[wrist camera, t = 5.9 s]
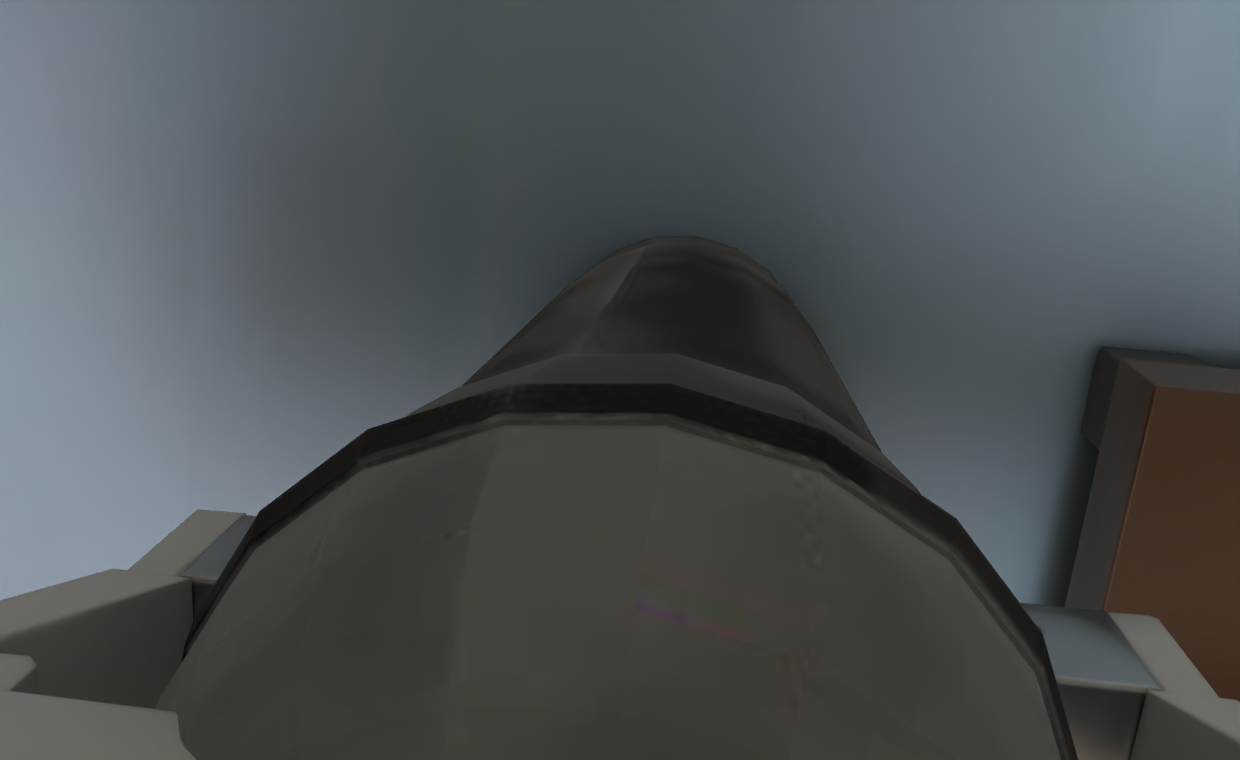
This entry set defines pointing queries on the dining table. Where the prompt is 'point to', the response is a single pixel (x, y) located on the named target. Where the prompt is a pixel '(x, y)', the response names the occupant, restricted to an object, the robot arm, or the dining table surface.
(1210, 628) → the shelf
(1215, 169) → the dining table surface
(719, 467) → the beverage cup
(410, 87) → the dining table surface
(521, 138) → the dining table surface
